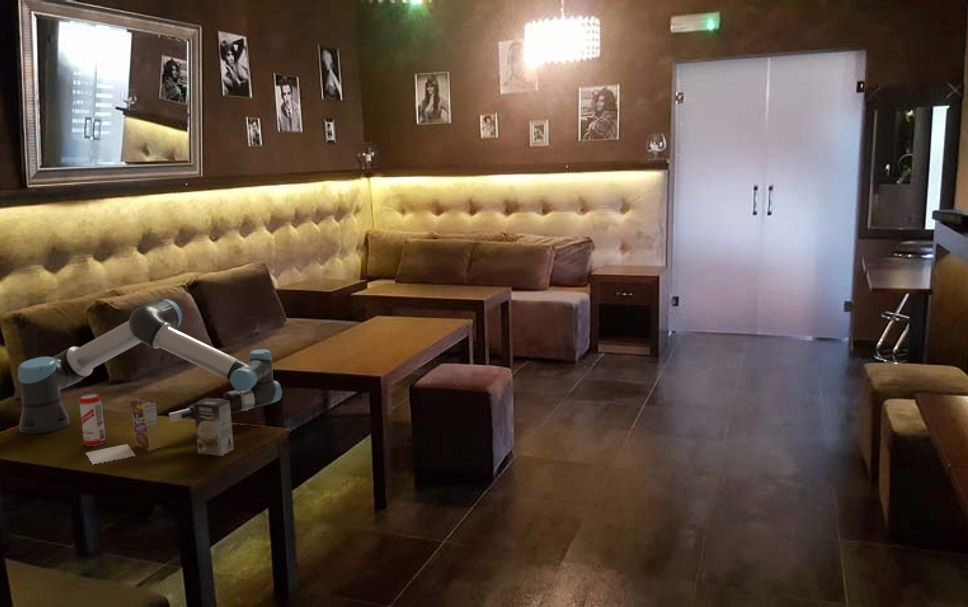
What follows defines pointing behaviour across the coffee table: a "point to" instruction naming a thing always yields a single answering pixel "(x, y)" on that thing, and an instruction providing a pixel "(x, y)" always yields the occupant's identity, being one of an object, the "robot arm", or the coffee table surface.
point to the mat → (110, 454)
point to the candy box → (145, 423)
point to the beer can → (92, 420)
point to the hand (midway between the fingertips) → (170, 417)
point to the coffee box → (213, 426)
